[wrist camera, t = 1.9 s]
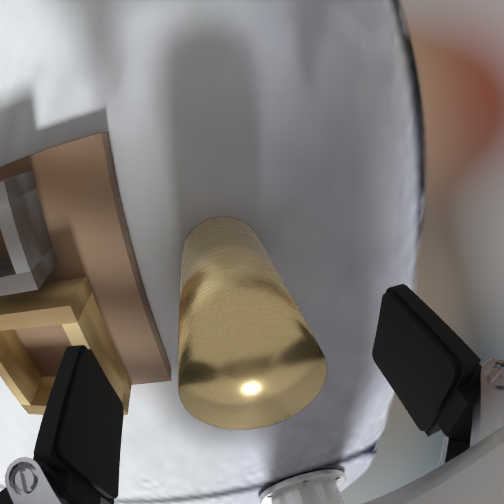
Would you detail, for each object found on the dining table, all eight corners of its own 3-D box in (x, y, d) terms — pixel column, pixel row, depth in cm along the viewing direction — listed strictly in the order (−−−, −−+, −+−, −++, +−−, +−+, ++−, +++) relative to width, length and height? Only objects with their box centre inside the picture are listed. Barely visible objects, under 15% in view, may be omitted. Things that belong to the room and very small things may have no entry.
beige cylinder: (264, 282, 19) (323, 412, 10) (190, 296, 18) (198, 438, 9) (257, 210, 17) (330, 313, 8) (174, 224, 17) (158, 346, 8)
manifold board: (171, 368, 20) (170, 414, 17) (21, 378, 19) (6, 413, 15) (107, 132, 14) (80, 135, 10) (-58, 195, 12) (-95, 215, 8)
